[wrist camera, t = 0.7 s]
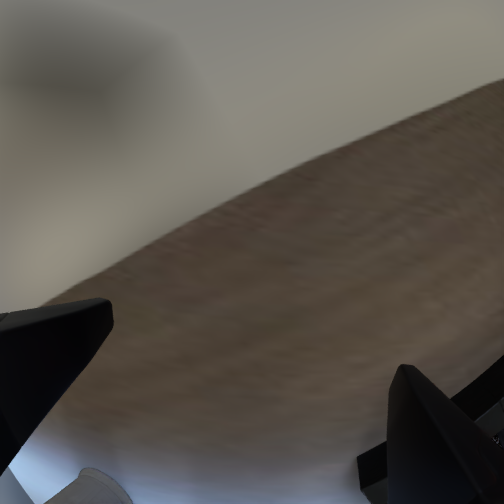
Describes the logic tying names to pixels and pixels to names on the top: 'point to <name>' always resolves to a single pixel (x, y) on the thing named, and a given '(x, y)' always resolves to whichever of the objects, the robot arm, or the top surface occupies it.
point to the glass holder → (91, 490)
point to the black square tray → (470, 402)
